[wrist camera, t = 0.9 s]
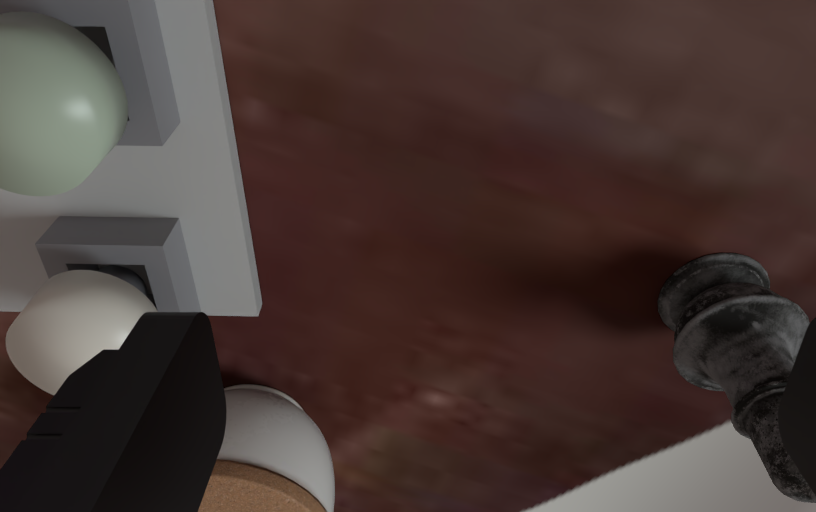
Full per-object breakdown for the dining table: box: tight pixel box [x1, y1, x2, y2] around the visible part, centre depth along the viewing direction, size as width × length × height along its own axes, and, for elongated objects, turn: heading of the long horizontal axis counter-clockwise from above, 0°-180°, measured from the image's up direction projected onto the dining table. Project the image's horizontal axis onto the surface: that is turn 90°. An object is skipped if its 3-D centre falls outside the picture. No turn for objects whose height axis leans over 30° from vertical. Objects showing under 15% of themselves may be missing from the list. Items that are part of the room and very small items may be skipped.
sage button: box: [0, 11, 128, 196], centre depth 21 cm, size 5×5×5 cm
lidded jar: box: [198, 384, 335, 512], centre depth 34 cm, size 11×11×9 cm
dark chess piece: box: [658, 253, 816, 503], centre depth 27 cm, size 6×6×12 cm
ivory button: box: [6, 265, 158, 395], centre depth 27 cm, size 5×5×5 cm
